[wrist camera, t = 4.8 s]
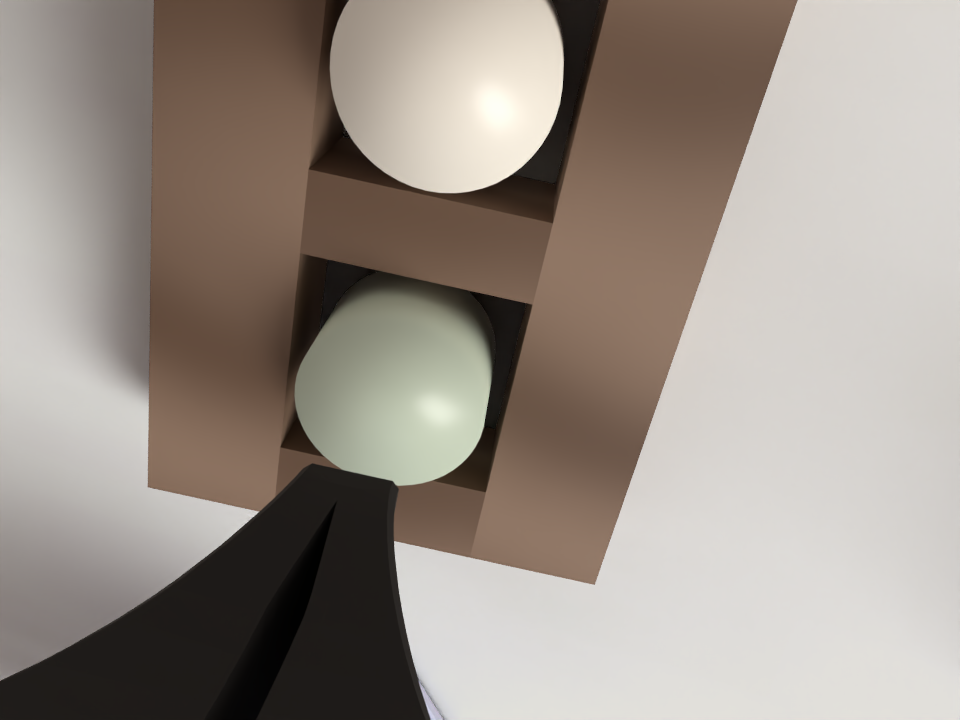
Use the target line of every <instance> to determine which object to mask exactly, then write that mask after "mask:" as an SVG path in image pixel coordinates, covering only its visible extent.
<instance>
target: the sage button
mask: <svg viewBox="0 0 960 720" xmlns="http://www.w3.org/2000/svg"><path fill="white" fill-rule="evenodd" d="M495 358H496V342H495V335H494V331H493V328H492V325H491V322H490V320H489V318H488V316H487V314H486V312H485V311H484V309H483V307H482V306H481V305H480V303H479V302H478V301H477V300H476V298H475V297H474V296H473V295H472V294H471V293H470V292H469V291H467V290H464V289H460V288H455V287H451V286H446V285H442V284H437V283H433V282H428V281H424V280H419V279H414V278H410V277H405V276H401V275H396V274H392V273H387V272H383V271H378V272H375V273H373V274H370V275H368V276H366V277H364V278H362V279H361V280H359V281H358V282H356V283H355V284H354V285H352V286H351V287H350V288H349V289H348V290H347V291H346V292H345V293H344V295H343V296H342V297H341V299H340V300H339V301H338V303H337V305H336V306H335V308H334V309H333V311H332V313H331V314H330V316H329V318H328V319H327V321H326V323H325V324H324V326H323V328H322V329H321V331H320V332H319V334H318V336H317V337H316V339H315V341H314V342H313V344H312V346H311V347H310V349H309V351H308V352H307V354H306V356H305V357H304V359H303V361H302V363H301V365H300V368H299V370H298V373H297V377H296V382H295V404H296V410H297V414H298V417H299V420H300V422H301V425H302V427H303V429H304V431H305V433H306V434H307V436H308V438H309V439H310V441H311V442H312V443H313V445H314V446H315V447H316V448H317V449H318V450H319V451H320V452H321V453H322V455H323V456H325V457H326V458H327V459H328V460H329V461H331V462H332V463H333V464H335V465H336V466H338V467H339V468H341V469H342V470H345V471H350V472H354V473H359V474H363V475H368V476H372V477H377V478H382V479H386V480H391V481H393V482H394V483H395V484H396V485H397V486H403V485H415V484H421V483H425V482H428V481H432V480H435V479H437V478H440V477H442V476H444V475H446V474H448V473H449V472H451V471H453V470H454V469H455V468H457V467H458V466H459V465H460V464H462V463H463V462H464V461H465V460H466V459H467V458H468V457H469V455H470V454H471V453H472V451H473V450H474V448H475V447H476V445H477V443H478V441H479V439H480V437H481V434H482V431H483V428H484V422H485V417H486V411H487V405H488V399H489V393H490V387H491V382H492V376H493V370H494V364H495Z"/></svg>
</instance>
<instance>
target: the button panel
mask: <svg viewBox="0 0 960 720" xmlns="http://www.w3.org/2000/svg"><path fill="white" fill-rule="evenodd" d="M348 1H349V0H154V43H153V122H152V201H151V280H150V359H149V438H148V487H150V488H154V489H159V490H163V491H168V492H172V493H177V494H182V495H186V496H191V497H195V498H200V499H205V500H209V501H214V502H218V503H223V504H227V505H232V506H237V507H241V508H246V509H250V510H255V511H261V510H262V509H263V508H264V507H265V506H266V505H267V504H268V503H269V502H271V501H272V500H273V499H274V498H275V497H276V496H277V495H278V494H279V493H280V492H281V491H282V490H283V489H284V488H285V487H286V486H287V485H288V484H289V483H290V482H291V481H292V480H293V479H294V478H295V477H296V476H297V475H298V473H299V472H300V471H301V470H302V469H303V468H304V467H306V466H308V465H310V464H312V463H313V464H318V465H322V466H327V467H331V468H336V469H340V470H342V469H341V468H339V467H338V466H336V465H335V464H333V463H332V462H331V461H329V460H328V459H327V458H326V457H325V456H323V455H322V453H321V452H320V451H319V450H318V449H317V448H316V447H315V446H314V445H313V443H312V442H311V441H310V439H309V438H308V436H307V434H306V433H305V431H304V429H303V427H302V425H301V422H300V420H299V417H298V414H297V410H296V404H295V382H296V377H297V373H298V370H299V368H300V365H301V363H302V361H303V359H304V357H305V356H306V354H307V352H308V351H309V349H310V347H311V346H312V344H313V342H314V341H315V339H316V337H317V336H318V334H319V329H320V321H321V312H322V304H323V295H324V287H325V279H326V270H327V262H328V260H333V261H337V262H342V263H346V264H351V265H356V266H360V267H365V268H369V269H374V270H378V271H383V272H387V273H392V274H396V275H401V276H405V277H410V278H414V279H419V280H424V281H428V282H433V283H437V284H442V285H446V286H451V287H455V288H460V289H464V290H469V291H473V292H478V293H482V294H487V295H492V296H496V297H501V298H505V299H510V300H514V301H519V302H523V303H526V306H525V310H524V314H523V318H522V322H521V326H520V331H519V335H518V339H517V343H516V347H515V351H514V355H513V359H512V363H511V367H510V371H509V375H508V380H507V384H506V388H505V392H504V396H503V400H502V404H501V408H500V412H499V416H498V420H497V425H496V429H492V428H488V427H484V428H483V431H482V434H481V437H480V439H479V441H478V443H477V445H476V447H475V448H474V450H473V451H472V453H471V454H470V455H469V457H468V458H467V459H466V460H465V461H464V462H463V463H462V464H460V465H459V466H458V467H457V468H455V469H454V470H453V471H451V472H449V473H448V474H446V475H444V476H442V477H440V478H437V479H435V480H432V481H428V482H425V483H421V484H415V485H403V486H397V485H396V486H397V487H398V489H399V491H398V497H397V502H396V507H395V513H394V541H397V542H402V543H406V544H411V545H415V546H420V547H424V548H429V549H434V550H438V551H443V552H447V553H452V554H457V555H461V556H466V557H470V558H475V559H479V560H484V561H489V562H493V563H498V564H502V565H507V566H511V567H516V568H521V569H525V570H530V571H534V572H539V573H544V574H548V575H553V576H557V577H562V578H566V579H571V580H576V581H580V582H585V583H589V584H594V585H595V582H596V579H597V576H598V573H599V570H600V568H601V565H602V562H603V559H604V556H605V553H606V550H607V547H608V545H609V542H610V539H611V536H612V533H613V530H614V527H615V524H616V522H617V519H618V516H619V513H620V510H621V507H622V504H623V501H624V498H625V496H626V493H627V490H628V487H629V484H630V481H631V478H632V475H633V473H634V470H635V467H636V464H637V461H638V458H639V455H640V452H641V450H642V447H643V444H644V441H645V438H646V435H647V432H648V429H649V426H650V424H651V421H652V418H653V415H654V412H655V409H656V406H657V403H658V401H659V398H660V395H661V392H662V389H663V386H664V383H665V380H666V378H667V375H668V372H669V369H670V366H671V363H672V360H673V357H674V354H675V352H676V349H677V346H678V343H679V340H680V337H681V334H682V331H683V329H684V326H685V323H686V320H687V317H688V314H689V311H690V308H691V305H692V303H693V300H694V297H695V294H696V291H697V288H698V285H699V282H700V280H701V277H702V274H703V271H704V268H705V265H706V262H707V259H708V257H709V254H710V251H711V248H712V245H713V242H714V239H715V236H716V233H717V231H718V228H719V225H720V222H721V219H722V216H723V213H724V210H725V208H726V205H727V202H728V199H729V196H730V193H731V190H732V187H733V185H734V182H735V179H736V176H737V173H738V170H739V167H740V164H741V161H742V159H743V156H744V153H745V150H746V147H747V144H748V141H749V138H750V136H751V133H752V130H753V127H754V124H755V121H756V118H757V115H758V113H759V110H760V107H761V104H762V101H763V98H764V95H765V92H766V89H767V87H768V84H769V81H770V78H771V75H772V72H773V69H774V66H775V64H776V61H777V58H778V55H779V52H780V49H781V46H782V43H783V41H784V38H785V35H786V32H787V29H788V26H789V23H790V20H791V17H792V15H793V12H794V9H795V6H796V3H797V0H600V4H599V8H598V12H597V16H596V20H595V24H594V28H593V32H592V36H591V40H590V44H589V49H588V53H587V57H586V61H585V65H584V69H583V73H582V77H581V81H580V85H579V89H578V93H577V98H576V102H575V106H574V110H573V114H572V118H571V122H570V126H569V130H568V134H567V138H566V143H565V147H564V151H563V155H562V159H561V163H560V167H559V171H558V175H557V179H556V183H555V184H551V183H547V182H542V181H538V180H533V179H529V178H524V177H520V176H515V175H510V176H509V177H507V178H505V179H503V180H501V181H500V182H498V183H496V184H493V185H490V186H488V187H485V188H483V189H478V190H474V191H470V192H462V193H438V192H431V191H426V190H422V189H419V188H415V187H412V186H409V185H407V184H405V183H403V182H400V181H398V180H396V179H395V178H393V177H391V176H390V175H388V174H386V173H385V172H383V171H382V170H381V169H380V168H378V167H377V166H376V165H374V164H373V163H372V162H371V161H370V160H369V159H368V158H367V157H366V156H365V155H364V154H363V153H362V152H361V150H360V149H359V148H358V147H357V145H356V144H355V143H354V142H353V140H352V139H348V138H344V137H342V136H343V127H344V124H343V122H342V120H341V118H340V116H339V113H338V110H337V107H336V104H335V101H334V97H333V92H332V87H331V79H330V52H331V46H332V40H333V36H334V32H335V29H336V26H337V23H338V20H339V18H340V16H341V14H342V11H343V9H344V7H345V6H346V4H347V2H348Z"/></svg>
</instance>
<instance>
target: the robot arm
mask: <svg viewBox="0 0 960 720" xmlns="http://www.w3.org/2000/svg"><path fill="white" fill-rule="evenodd" d="M398 491H399V489H398V487H397V486H396V484H395V483H394V482H393V481H391V480H386V479H382V478H377V477H372V476H368V475H363V474H359V473H354V472H350V471H345V470H340V469H336V468H331V467H327V466H322V465H318V464H313V463H312V464H310V465H308V466H306V467H304V468H303V469H302V470H301V471H300V472H299V473H298V475H297V476H296V477H295V478H294V479H293V480H292V481H291V482H290V483H289V484H288V485H287V486H286V487H285V488H284V489H283V490H282V491H281V492H280V493H279V494H278V495H277V496H276V497H275V498H274V499H273V500H272V501H271V502H269V503H268V504H267V505H266V506H265V507H264V508H263V509H262V510H261V511H260V512H259V513H258V514H257V515H255V516H254V517H253V518H252V519H251V520H250V521H249V522H247V523H246V524H245V525H244V526H243V527H242V528H240V529H239V530H238V531H237V532H236V533H235V534H233V535H232V536H231V537H230V538H229V539H228V540H227V541H225V542H224V543H223V544H222V545H221V546H219V547H218V548H217V549H216V550H214V551H213V552H212V553H210V554H209V555H208V556H207V557H205V558H204V559H203V560H201V561H200V562H199V563H197V564H196V565H195V566H193V567H192V568H191V569H190V570H188V571H187V572H186V573H184V574H183V575H182V576H180V577H179V578H178V579H176V580H175V581H174V582H172V583H171V584H169V585H168V586H167V587H165V588H164V589H162V590H161V591H159V592H158V593H157V594H155V595H154V596H152V597H151V598H149V599H148V600H146V601H145V602H143V603H142V604H140V605H138V606H137V607H135V608H134V609H132V610H131V611H129V612H127V613H126V614H124V615H123V616H121V617H120V618H118V619H116V620H115V621H113V622H111V623H110V624H108V625H106V626H104V627H103V628H101V629H99V630H97V631H96V632H94V633H92V634H90V635H89V636H87V637H85V638H84V639H82V640H80V641H78V642H77V643H75V644H73V645H71V646H70V647H68V648H66V649H64V650H62V651H60V652H58V653H56V654H55V655H53V656H51V657H49V658H47V659H45V660H43V661H41V662H39V663H37V664H35V665H33V666H31V667H29V668H26V669H24V670H22V671H20V672H18V673H16V674H14V675H12V676H10V677H7V678H5V679H3V680H1V681H0V720H443V718H442V717H441V715H440V713H439V712H438V710H437V709H436V707H435V705H434V704H433V702H432V701H431V699H430V698H429V696H428V694H427V693H426V691H425V690H424V688H423V686H422V685H421V683H420V682H419V680H418V677H417V674H416V670H415V667H414V663H413V659H412V655H411V651H410V647H409V643H408V638H407V634H406V629H405V624H404V618H403V613H402V608H401V602H400V596H399V589H398V581H397V572H396V563H395V552H394V513H395V507H396V502H397V497H398Z"/></svg>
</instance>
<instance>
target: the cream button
mask: <svg viewBox="0 0 960 720" xmlns="http://www.w3.org/2000/svg"><path fill="white" fill-rule="evenodd" d="M563 68H564V40H563V33H562V28H561V23H560V20H559V17H558V14H557V11H556V8H555V6H554V4H553V2H552V0H349V1H348V2H347V4H346V6H345V7H344V9H343V11H342V14H341V16H340V18H339V20H338V23H337V26H336V29H335V32H334V36H333V40H332V46H331V52H330V79H331V87H332V92H333V97H334V101H335V104H336V107H337V110H338V113H339V116H340V118H341V120H342V122H343V124H344V127H345V129H346V130H347V132H348V134H349V135H350V137H351V138H352V140H353V142H354V143H355V144H356V145H357V147H358V148H359V149H360V150H361V152H362V153H363V154H364V155H365V156H366V157H367V158H368V159H369V160H370V161H371V162H372V163H373V164H374V165H376V166H377V167H378V168H380V169H381V170H382V171H383V172H385V173H386V174H388V175H390V176H391V177H393V178H395V179H396V180H398V181H400V182H403V183H405V184H407V185H409V186H412V187H415V188H419V189H422V190H426V191H431V192H438V193H462V192H470V191H474V190H478V189H483V188H485V187H488V186H490V185H493V184H496V183H498V182H500V181H501V180H503V179H505V178H507V177H509V176H510V175H512V174H513V173H514V172H516V171H517V170H518V169H520V168H521V167H522V166H523V165H524V164H525V163H526V162H527V161H528V160H530V159H531V158H532V156H533V155H534V154H535V153H536V151H537V150H538V149H539V148H540V147H541V145H542V143H543V142H544V140H545V139H546V137H547V135H548V134H549V132H550V130H551V127H552V125H553V123H554V121H555V118H556V115H557V112H558V108H559V105H560V100H561V94H562V88H563Z"/></svg>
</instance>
